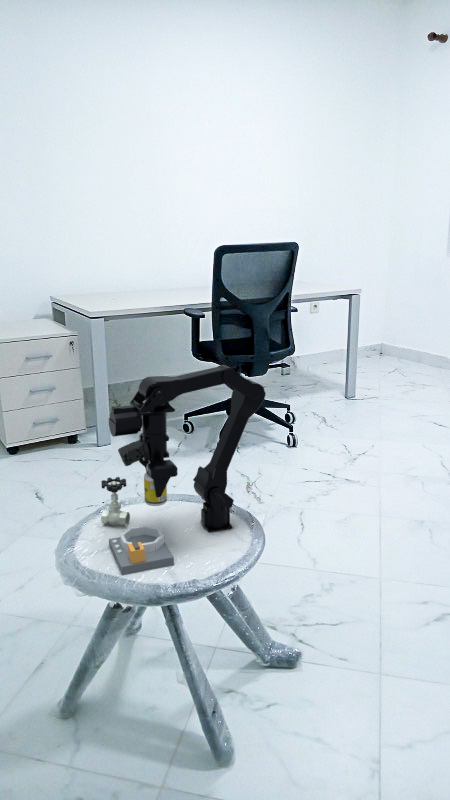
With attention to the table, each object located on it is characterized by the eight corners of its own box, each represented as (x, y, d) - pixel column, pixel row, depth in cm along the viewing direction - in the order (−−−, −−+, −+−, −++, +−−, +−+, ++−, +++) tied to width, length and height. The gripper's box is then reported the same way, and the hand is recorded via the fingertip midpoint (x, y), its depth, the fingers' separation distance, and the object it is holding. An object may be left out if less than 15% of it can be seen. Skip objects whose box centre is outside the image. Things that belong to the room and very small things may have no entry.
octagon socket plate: (157, 538, 156) (156, 523, 155) (174, 565, 143) (173, 549, 142) (109, 546, 152) (108, 531, 150) (121, 575, 139) (121, 558, 138)
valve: (123, 531, 159) (121, 487, 156) (99, 529, 160) (96, 485, 157) (132, 520, 165) (130, 477, 162) (108, 518, 167) (106, 475, 163)
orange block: (141, 553, 144) (140, 539, 143) (145, 561, 141) (144, 546, 140) (128, 556, 143) (127, 541, 142) (131, 563, 140) (131, 549, 139)
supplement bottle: (145, 497, 156) (144, 460, 153) (167, 497, 156) (167, 460, 153) (143, 506, 150) (142, 468, 148) (166, 506, 151) (165, 468, 148)
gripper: (113, 422, 154) (115, 482, 158) (128, 446, 137) (130, 512, 141) (157, 419, 158) (158, 477, 162) (177, 441, 141) (178, 506, 145)
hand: (155, 492), depth 152 cm, fingers closed on supplement bottle, 5 cm apart
